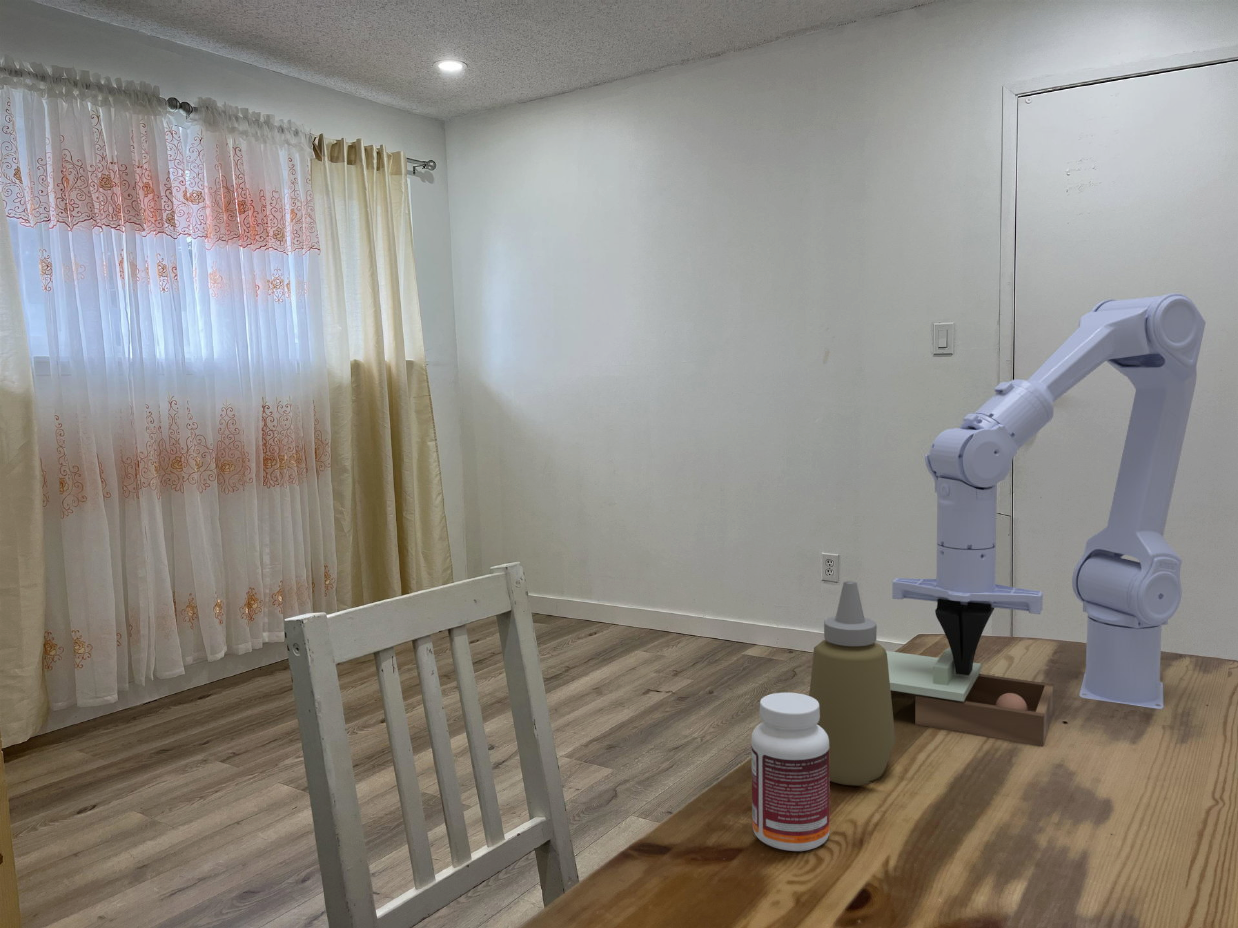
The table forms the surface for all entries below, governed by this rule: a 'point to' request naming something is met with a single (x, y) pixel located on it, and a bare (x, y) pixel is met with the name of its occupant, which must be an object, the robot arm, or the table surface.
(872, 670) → the squeeze bottle
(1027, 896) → the table surface
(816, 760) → the pill bottle
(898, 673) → the lid
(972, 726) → the walnut box
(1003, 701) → the ball
